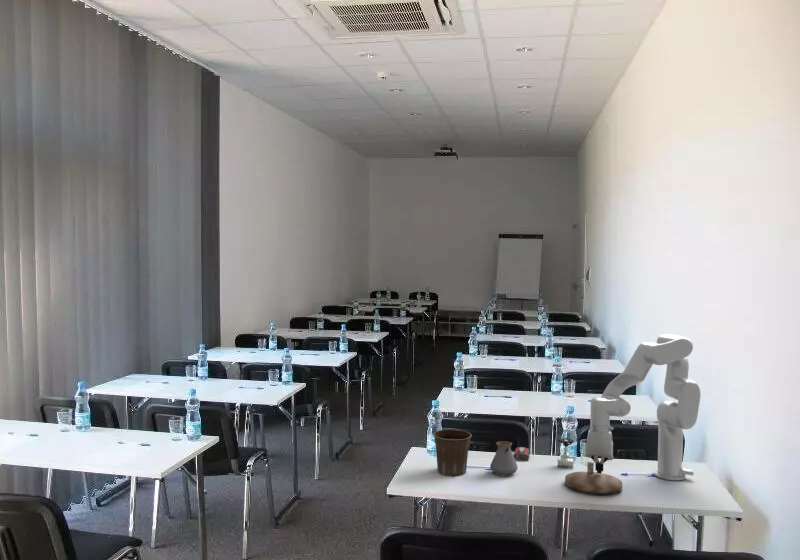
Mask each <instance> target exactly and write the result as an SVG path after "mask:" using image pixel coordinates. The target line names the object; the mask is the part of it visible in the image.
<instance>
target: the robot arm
mask: <svg viewBox="0 0 800 560" xmlns="http://www.w3.org/2000/svg"><path fill="white" fill-rule="evenodd" d="M693 349H694V345H693V342H692V341H691V339H690V338H688V337H685V336H680V335H676V334H669V333H665V334H661V335H659V336H658V337H657V339H656V343H655V342H647V341H646V342H641V343H639V345H638V346H637V347H636V349H635V350H634V353H633V355H632V356H631V358H630V360H629V361H628V363H627V365H626V367H625V369H624V370H623V371H622V372H621V373H620V374H618V375H617V376H616V377H615V378H613V379H612V380H611V381H609V383H608V384H607V386H606V387H605V389H604V391H603V393H602V395H601V396H600V397H599V396H598V397H593V398H591V400H590V422H589V423H590V429H588V432H587V437H586V438H587V439H586V454H585V457H586V458H588V459H591V460H592V462H593V463H594V464H595V468H594V470H595V471H596V472H597V473H600V474H601V473H603V472H604V464H605V462H607V461H613V460H614V455H613V454H614V441H613V434H612V431H613V430H614V426H612V425H610V420H611V419H610V418H611V417H620V418H621V417H626V416H627V415H629V414H630V412H631V404H630V402H629V401H628V400H627V399H625V398H623V397H621V395H622V394H623V393H624V392H625V390H627V389H629V388H631V387H633V386H636V385H639V384H642V383H644V381H645V379H646V377H647V376H648V373H649V371H650V370H651V368H652V367H653V365H654V366H663V365H666V371H665V378H664V384H663V392H664V394H665V396H667V397H669V398H671V399H673V400H676V401H677V402H675V401H672V400H665V401H662V402H660V403H659V404H658V406H657V408H656V419H657V424H658V425H657V426H658V436H657V437H658V439H657V440H658V444H657V468H656V469H654V470H653V475H654V476H655V477H656V478H658V479H663V480H667V481H683V480H685V479H686V477H687V475H688V476H693V477H694V470H692V469H687V468H685V467H684V465H683V446H684V445H683V443H684V441H683V440H684V436H683V430H690V429H692V428H693V427H694V426H695V425H696V422H697V420H698V416H699V409H700V408H699V407H700V401H701V389H700V386H699V384H698V383H697V382H696V381H694V380H693V379H689V378H688V377H689V369H690V365H689V360H688V357H689V356H690V355H691V354H692V352H693ZM599 457H600V460H599Z"/></svg>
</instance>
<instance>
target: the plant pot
mask: <svg viewBox="0 0 800 560" xmlns="http://www.w3.org/2000/svg"><path fill="white" fill-rule="evenodd" d="M433 437H434V444H435V451H436V453H435V454H436V465H437V467H436V469H437V471H438V473H439V474H440V473H441V475H443V476H447V475H448V476H449V477H454V476H455V475H456V476H457V477H458V476H462V475H465V474H466V473H467V465H468V457H469V456H468V454H469V448H470V447H469V446H470V444H471V438H472V433H470V432H468V431H466V430H461V429H453V428H452V429H449V428H448V429H439V430H436V431H434V432H433Z"/></svg>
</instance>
